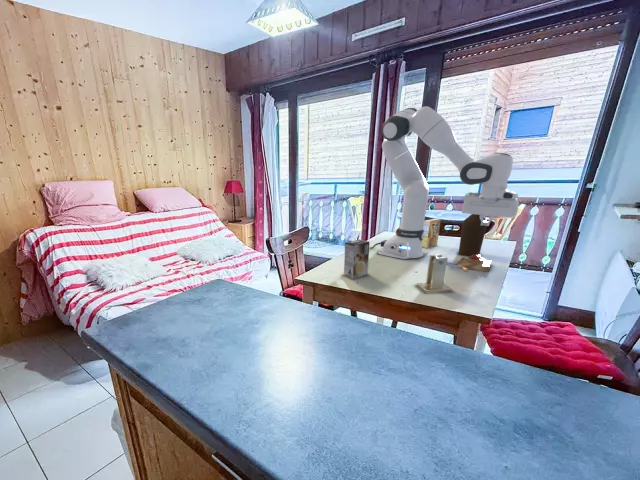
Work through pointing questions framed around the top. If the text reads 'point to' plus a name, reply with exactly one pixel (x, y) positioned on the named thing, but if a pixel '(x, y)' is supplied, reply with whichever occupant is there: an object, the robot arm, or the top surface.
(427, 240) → the candy box
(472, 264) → the button block
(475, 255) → the button
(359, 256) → the coffee box
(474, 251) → the olive oil
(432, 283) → the bracket
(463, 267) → the lever
